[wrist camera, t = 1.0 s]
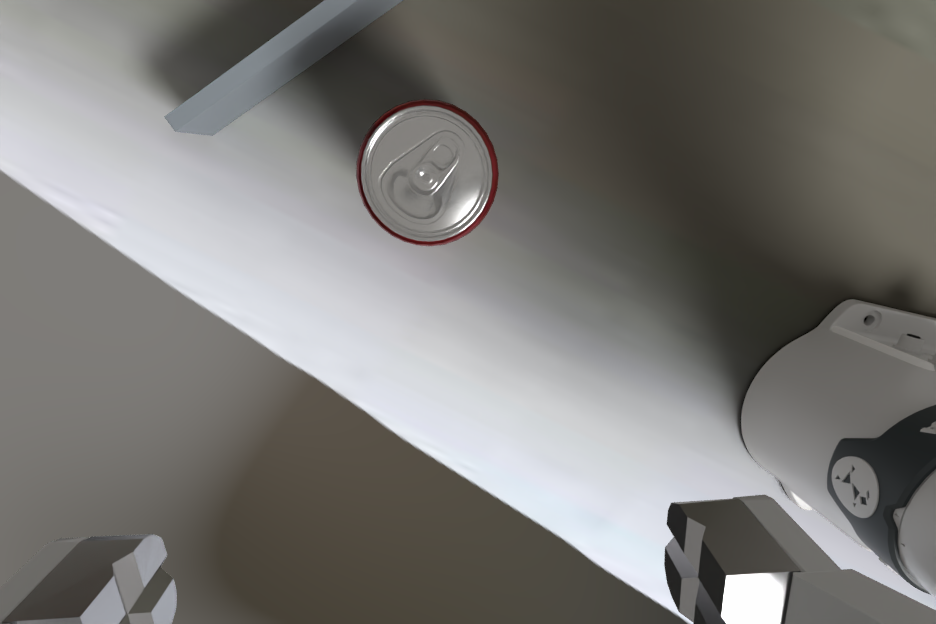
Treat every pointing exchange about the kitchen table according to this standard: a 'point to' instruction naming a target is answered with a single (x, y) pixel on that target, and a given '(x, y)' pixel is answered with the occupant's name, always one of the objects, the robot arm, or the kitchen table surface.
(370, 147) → the soda can
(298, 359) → the kitchen table surface
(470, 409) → the kitchen table surface
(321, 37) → the acrylic wall
